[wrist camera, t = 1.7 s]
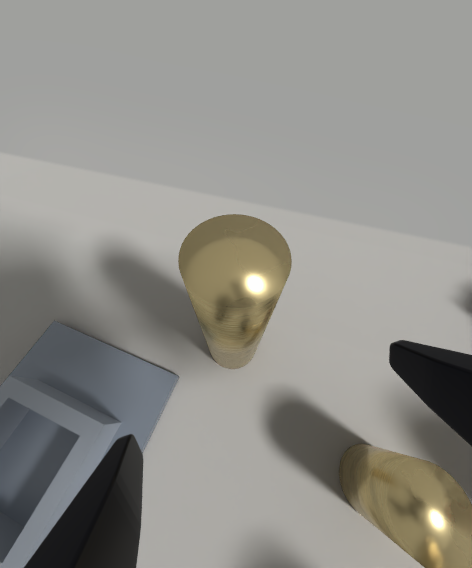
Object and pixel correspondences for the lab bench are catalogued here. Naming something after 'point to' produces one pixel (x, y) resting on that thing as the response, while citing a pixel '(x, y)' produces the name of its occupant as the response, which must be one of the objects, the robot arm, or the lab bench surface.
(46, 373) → the gauge plate
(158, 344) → the lab bench surface
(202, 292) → the pin long
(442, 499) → the pin short
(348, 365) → the lab bench surface
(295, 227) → the lab bench surface
